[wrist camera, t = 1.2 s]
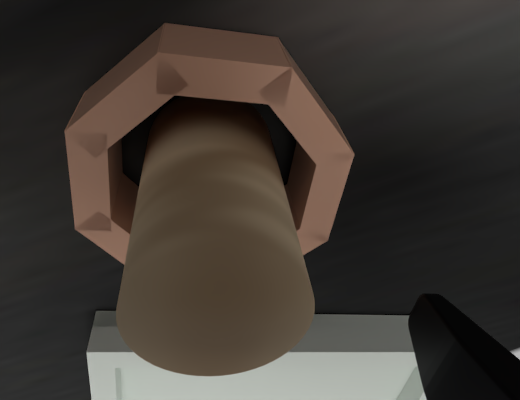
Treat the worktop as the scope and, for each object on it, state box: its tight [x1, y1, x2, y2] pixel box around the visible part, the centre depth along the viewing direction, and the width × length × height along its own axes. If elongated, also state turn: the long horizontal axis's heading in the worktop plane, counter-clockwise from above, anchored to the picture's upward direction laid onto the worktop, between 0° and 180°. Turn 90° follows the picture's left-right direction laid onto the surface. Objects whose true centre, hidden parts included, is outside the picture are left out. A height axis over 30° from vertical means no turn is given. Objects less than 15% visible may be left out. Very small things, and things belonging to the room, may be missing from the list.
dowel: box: [116, 96, 315, 376], centre depth 12 cm, size 4×4×7 cm
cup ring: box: [64, 22, 354, 265], centre depth 14 cm, size 8×8×2 cm
